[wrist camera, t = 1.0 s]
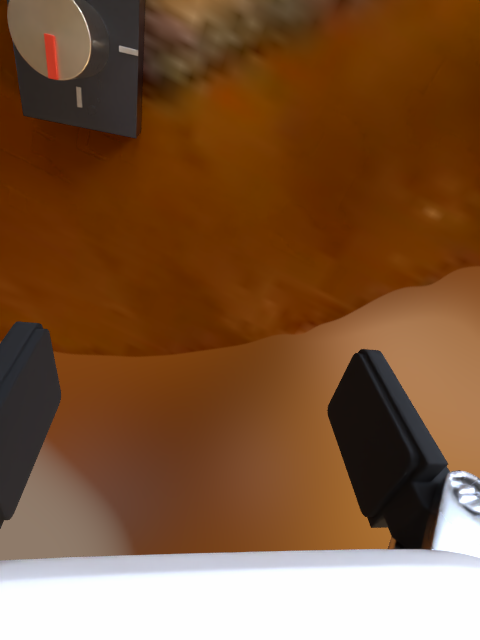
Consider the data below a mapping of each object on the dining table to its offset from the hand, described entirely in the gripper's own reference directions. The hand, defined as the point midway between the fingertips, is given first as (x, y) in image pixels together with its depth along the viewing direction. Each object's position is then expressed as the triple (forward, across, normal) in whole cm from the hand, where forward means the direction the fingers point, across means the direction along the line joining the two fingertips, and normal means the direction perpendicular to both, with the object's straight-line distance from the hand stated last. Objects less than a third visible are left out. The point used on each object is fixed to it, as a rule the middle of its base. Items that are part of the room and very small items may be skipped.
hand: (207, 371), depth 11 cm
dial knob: (+26, +10, -7) cm, 29 cm away
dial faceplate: (+29, +10, -7) cm, 32 cm away
